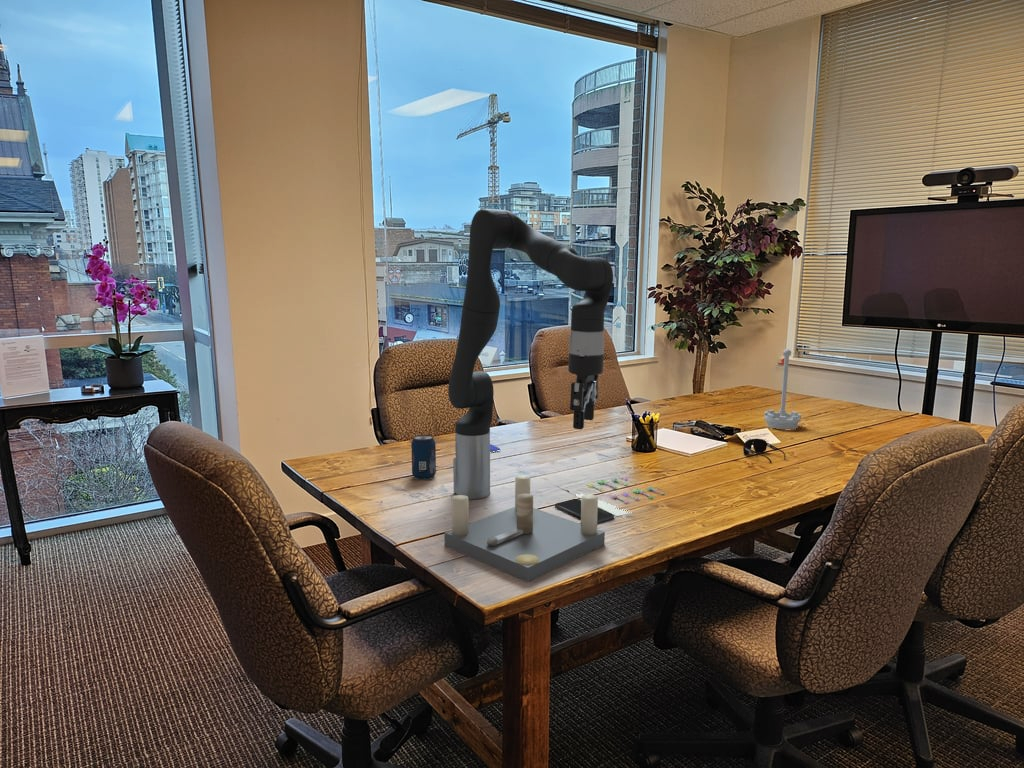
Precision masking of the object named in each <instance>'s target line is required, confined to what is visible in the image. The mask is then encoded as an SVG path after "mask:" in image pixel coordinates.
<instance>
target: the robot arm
mask: <svg viewBox="0 0 1024 768" xmlns="http://www.w3.org/2000/svg"><path fill="white" fill-rule="evenodd" d="M468 243H469V245H468V265H467V266H468V268H467V276H466V282H465V283H466V284H465V292H464V297H463V303H462V309H461V316H460V327H459V334H458V338H457V339H458V340H457V343H456V344H457V346H456V350H455V355H454V359H453V363H452V367H451V372H450V376H449V380H448V388H447V390H448V391H447V393H448V394H447V395H448V398H449V403H450V404H451V405H452V407H454V408H455V409H459V410H460V409H468V411H467V412H466V413H465V414H464V415H463V416H462V417H460V418H458V419H457V420H456V421H455V425H454V432H455V436H454V437H455V438H454V439H455V440H454V441H455V457H454V458H453V460H452V461H453V462H452V465H453V492H454V493H455V494H456V495H465V496H468V500H469V499H470V500H476V499H477V500H478V499H482V498H483V497H484V498H486V497H488V496H490V495H491V453H490V444H491V426H492V422H493V415H494V413H493V411H494V397H495V396H494V392H495V391H494V383H493V380H492V378H491V376H490V374H489V373H488V372H486V371H484V370H479V371H478V370H476V371H475V367H476V366H475V365H476V363H477V360H478V359H479V356H480V355H481V353H482V351H483V350H484V349H485V347H486V346H487V345H488V343H489V342H490V340H492V337H493V336H494V334H495V332H496V330H497V327H498V321H499V316H500V308H501V300H500V296H499V292H498V289H497V287H496V285H495V282H494V280H493V276H492V271H491V267H492V255H493V251H494V250H495V249H496V250H497V249H499V250H500V249H503V250H505V249H511V250H517V251H519V252H523V253H525V254H526V255H527V256H528V258H529V260H530V261H531V262H532V263H533V264H534V265H536V266H537V267H538V268H539V269H542V270H543V271H546V272H547V273H550V274H551V275H553V276H556V278H557V279H558V280H559V281H560V282H561V283H563V285H565V286H566V287H568V288H569V289H571V290H574V291H578V292H584V295H583V298H582V300H580V301H579V302H577V303H575V304H573V306H572V308H571V311H570V312H571V316H570V320H571V321H570V333H569V339H568V365H567V367H568V369H567V370H568V372H569V373H570V374H572V375H576V379H575V381H574V382H573V381H571V383H570V401H569V402H570V404H569V410H570V411H572V412H573V419H572V420H573V421H572V422H573V425H572V427H573V429H575V430H583V429H584V428H585V421H593V420H594V418H595V417H594V416H595V404H596V401H597V399H598V398H599V395H598V394H599V393H598V391H599V376H600V375H601V374H603V372H604V362H605V361H604V358H605V355H604V354H605V336H604V335H605V334H604V333H605V332H604V328H605V310H606V309H607V306H608V302H609V297H610V294H611V290H612V287H613V283H614V271H613V267H612V265H611V263H610V262H609V260H607V259H606V258H603V257H601V256H600V257H594V256H593V257H591V256H588V257H586V256H585V257H584V256H580V255H579V254H578V252H577V251H576V250H575V249H574V248H573V247H571V246H570V245H568V244H565V243H563V242H562V241H560V240H559V241H558V240H556V239H555V238H552V237H550V236H548V235H546V234H543V232H540V231H539V230H537V229H535V228H534V227H532V226H531V225H530V224H529V223H527V222H526V221H525V220H523V219H522V218H521V217H519V216H518V215H516V214H515V213H513V212H512V211H511V210H508V209H496V208H481V209H478V210H477V211H476V212H475V214H474V215H473V217H472V220H471V223H470V229H469V242H468ZM456 495H455V496H456Z"/></svg>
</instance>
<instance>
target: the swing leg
mask: <svg viewBox="0 0 1024 768" xmlns="http://www.w3.org/2000/svg"><path fill="white" fill-rule="evenodd" d="M533 508H534V495H533V494H531V493H530V494H525V493H524V494H519V495H517V528H516V529H513V530H510V531H508V532H505V533H503V534H500V535H498V536H495V537H490V538H487V545H489V546H495V545H497V544H499V543H501V542H504V541H506V540H509V539H511V538H514V537H516V536H518V535H521V534H528V533H531V532H533Z"/></svg>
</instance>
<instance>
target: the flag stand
mask: <svg viewBox="0 0 1024 768" xmlns="http://www.w3.org/2000/svg"><path fill="white" fill-rule="evenodd" d="M782 355H783V356H784V358H782V359H781V360H780V363H782V366H783V372H782V373H783V375H782V390H781V398H780V399H781V400H780V401H781V404H780V409H779V410H778V412H775V410H774V409H768V410H767V411H764V412H763V413H764V415H763V417H764V418H763V419H764V420H765V421H766V425H767V426H769V427H772V428H778V429H795V430H797V429H798V424H799V423H800V422H802V421H801V420H802V414H801V413H799V412H797V411H793V410H792V411H790V413H789V412H787V410H786V402H787V401H786V400H787V389H788V387H787V386H788V375H789V361H790V356H791V355H792V351H791V350H790V349H789V348H785V349H784V350H783V351H782ZM767 426H766V427H767ZM769 427H768V428H769ZM772 428H771V429H772ZM796 428H797V429H796Z"/></svg>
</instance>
